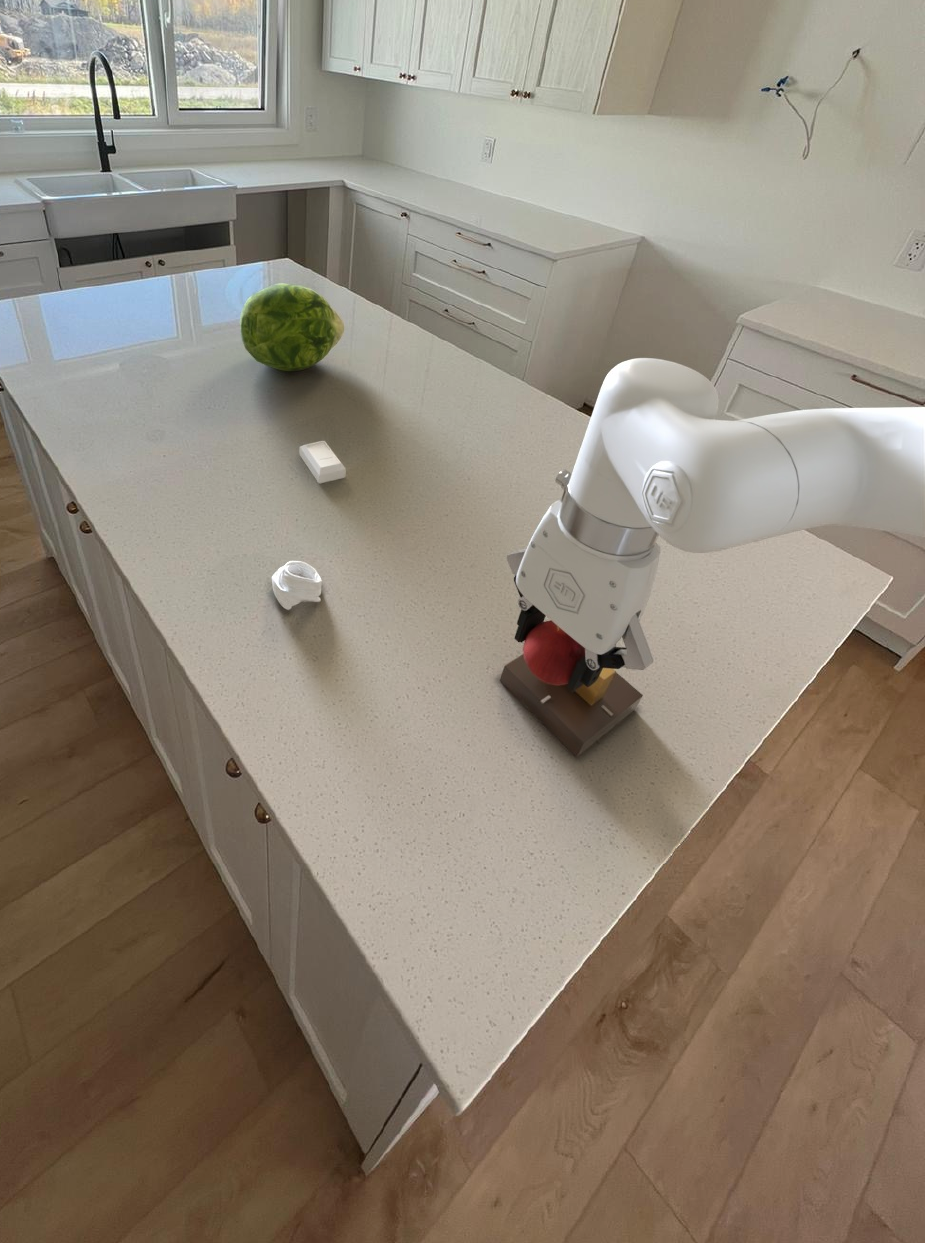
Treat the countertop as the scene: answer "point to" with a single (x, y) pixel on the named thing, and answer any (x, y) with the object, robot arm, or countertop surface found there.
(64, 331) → the countertop surface
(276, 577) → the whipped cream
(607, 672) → the tap handle
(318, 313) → the lettuce
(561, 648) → the onion
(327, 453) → the soap bar
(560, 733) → the tap deck
